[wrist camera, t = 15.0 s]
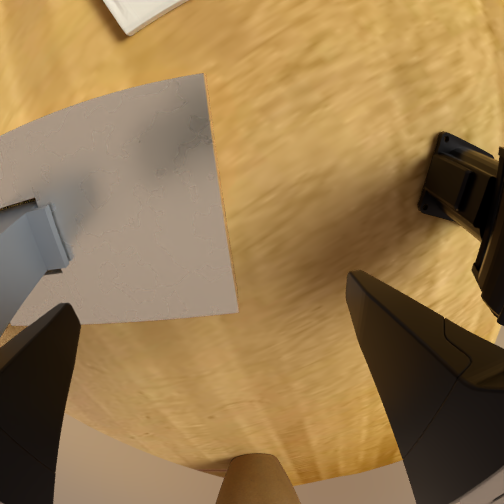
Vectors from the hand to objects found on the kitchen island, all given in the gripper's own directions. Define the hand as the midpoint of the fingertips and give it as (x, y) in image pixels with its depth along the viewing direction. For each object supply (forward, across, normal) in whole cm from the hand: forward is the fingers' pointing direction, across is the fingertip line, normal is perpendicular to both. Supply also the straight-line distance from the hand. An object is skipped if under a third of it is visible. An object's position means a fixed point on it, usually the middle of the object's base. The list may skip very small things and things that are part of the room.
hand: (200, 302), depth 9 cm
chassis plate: (+12, +11, +1) cm, 16 cm away
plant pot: (+12, +2, +43) cm, 45 cm away
